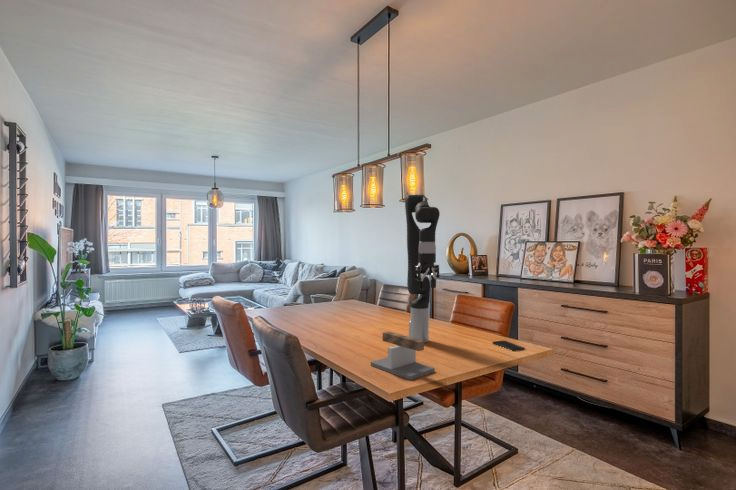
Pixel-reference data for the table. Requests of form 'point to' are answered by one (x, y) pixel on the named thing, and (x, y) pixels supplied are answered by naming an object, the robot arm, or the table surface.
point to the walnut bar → (403, 341)
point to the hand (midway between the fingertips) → (427, 288)
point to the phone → (508, 345)
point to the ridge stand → (402, 363)
